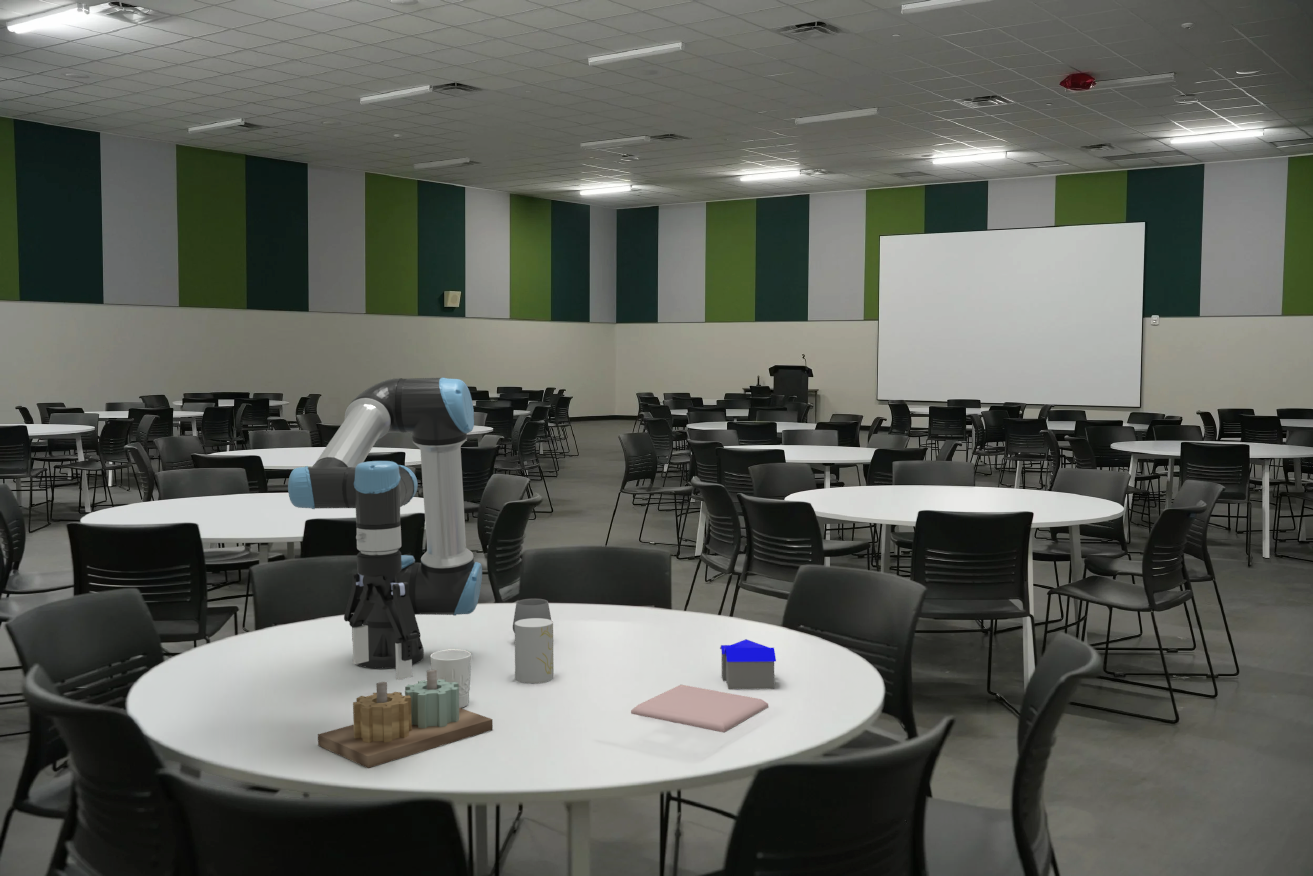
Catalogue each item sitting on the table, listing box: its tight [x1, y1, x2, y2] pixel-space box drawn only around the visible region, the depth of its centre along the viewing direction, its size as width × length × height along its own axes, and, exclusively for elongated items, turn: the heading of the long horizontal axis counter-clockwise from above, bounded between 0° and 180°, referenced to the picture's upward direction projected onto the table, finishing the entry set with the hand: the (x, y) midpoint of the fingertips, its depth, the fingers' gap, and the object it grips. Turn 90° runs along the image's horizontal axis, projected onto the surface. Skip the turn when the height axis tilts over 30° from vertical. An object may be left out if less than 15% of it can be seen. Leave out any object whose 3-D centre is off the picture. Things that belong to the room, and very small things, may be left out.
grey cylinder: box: [514, 618, 555, 685], centre depth 233 cm, size 8×8×12 cm
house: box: [719, 638, 777, 690], centre depth 230 cm, size 10×11×8 cm
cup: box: [512, 598, 552, 634], centre depth 263 cm, size 10×9×10 cm
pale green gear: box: [404, 679, 459, 728], centre depth 200 cm, size 10×10×6 cm
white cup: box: [429, 648, 472, 709], centre depth 215 cm, size 8×8×10 cm
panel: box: [630, 684, 769, 733], centre depth 206 cm, size 35×33×2 cm
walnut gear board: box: [317, 669, 494, 769], centre depth 196 cm, size 16×26×11 cm, turn 137°
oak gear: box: [352, 691, 412, 743], centre depth 193 cm, size 10×10×6 cm
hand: (382, 670), depth 193 cm, fingers open, 13 cm apart
